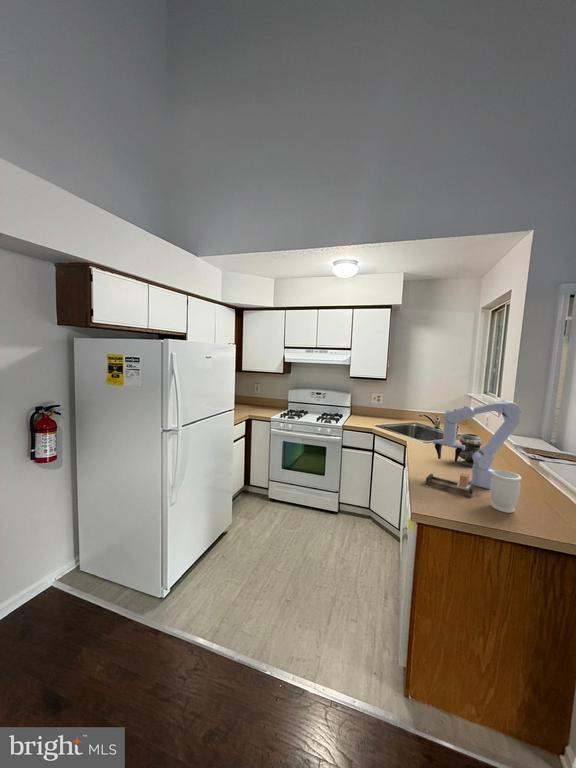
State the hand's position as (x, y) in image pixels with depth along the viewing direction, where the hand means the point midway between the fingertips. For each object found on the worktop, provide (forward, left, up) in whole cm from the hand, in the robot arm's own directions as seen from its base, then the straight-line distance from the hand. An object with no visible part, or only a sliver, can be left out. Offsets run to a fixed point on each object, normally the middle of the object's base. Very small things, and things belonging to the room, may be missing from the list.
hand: (447, 460), depth 162 cm
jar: (-26, +16, -11) cm, 32 cm away
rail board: (-4, +10, -10) cm, 15 cm away
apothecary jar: (-4, -35, -11) cm, 37 cm away
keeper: (-10, +10, -9) cm, 16 cm away
